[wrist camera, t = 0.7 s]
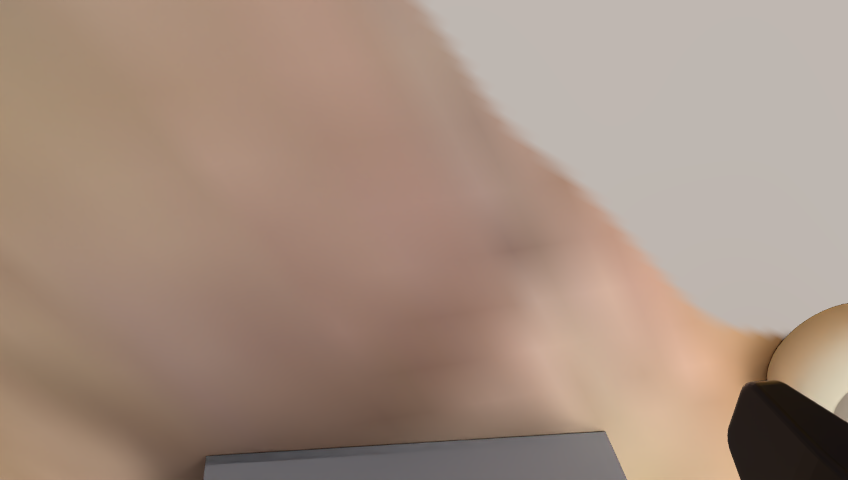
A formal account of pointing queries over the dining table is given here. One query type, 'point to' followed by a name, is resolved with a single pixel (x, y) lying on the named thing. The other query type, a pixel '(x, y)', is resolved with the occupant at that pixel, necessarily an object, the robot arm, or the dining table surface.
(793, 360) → the tape roll
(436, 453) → the carton
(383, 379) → the dining table surface
